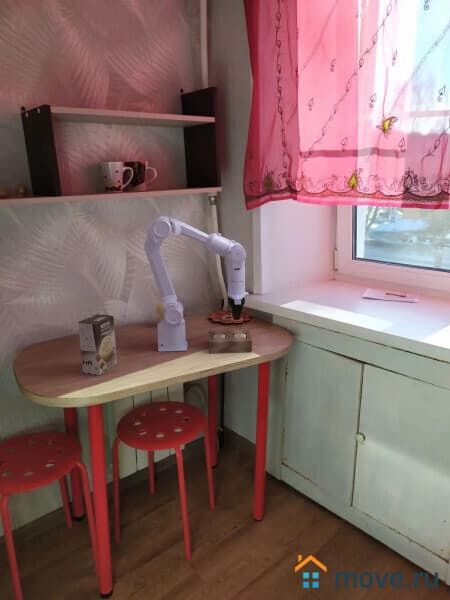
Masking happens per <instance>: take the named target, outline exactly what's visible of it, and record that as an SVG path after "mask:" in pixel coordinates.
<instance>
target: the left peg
mask: <svg viewBox="0 0 450 600" xmlns="http://www.w3.org/2000/svg"><path fill="white" fill-rule="evenodd" d="M217 338H225V335H224V334H215V335H214V336H213V339H217Z"/></svg>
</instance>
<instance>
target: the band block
mask: <svg viewBox="0 0 450 600" xmlns="http://www.w3.org/2000/svg"><path fill="white" fill-rule="evenodd" d="M237 333H243V334H245V335H246V338H234V334H237ZM215 334H224V335H225V338H217V339H213V336H214V335H215ZM208 345H209V346H208V350H209V354H211V355H213V354H241V353H245V354H247V353H252V352H253V340H252V336H251V333H250V329H231V330H229V329H228V330H224V329H223V330H208Z"/></svg>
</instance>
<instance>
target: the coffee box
mask: <svg viewBox="0 0 450 600" xmlns="http://www.w3.org/2000/svg"><path fill="white" fill-rule="evenodd" d="M114 320H115V318H114V315H111V314H110V315H109V314H98V313H96V314H94V315H92V316H90V317H89V316H88V317H86V318H85V319H82V320H79V321H78V322H77V323H78V325H77V326H78V332H79V345H80V346H79V347H80V354H81V355H80V357H81V367H82V368H81V369H82V373H83V372H84V374H88V373H90V374H89V375H94V374H96V375H95V376H101V375H103V374H104V373H106V372H107V371H109V370H110V368H111V369H112V368H113V366H114V367H116V366H117V365H118V359H117V349H116V348H117V347H116V332H115V321H114ZM105 371H106V372H105ZM102 373H103V374H102Z"/></svg>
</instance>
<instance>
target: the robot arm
mask: <svg viewBox="0 0 450 600" xmlns="http://www.w3.org/2000/svg"><path fill="white" fill-rule="evenodd" d="M171 234H172V237H175V236H181V235H182V236H184V237H187V238H190V239H191V240H195V241H196V242H199V243H202V244H204V245H205V249H206V251H207V250H208V251H209V252H212V253H214V254H216V255H219V256H222V257H224V258H228V266H227V293H226V294H227V295H226V296H228V298H227V301H228V304H229V306H230V309H231V314H232V318H233V321H239V320H241V317H242V312H243V308H244V305H245V304H246V300H245V299H246V297H245V296H249V292H248V291H246V266H245V264H246V258H247V256H248V255H247V252H246V249H245V248H244V246H243V245H242V244H241V243H239V242H237V241H235V240H234V239H231V240H230V239H228V238H227V237H224V236H223V235H222V233H220V232H217V233H215V232H213V233H209V234H208V233H205V232H203V231H202V230H199V229H197V228H196V227H194V226H191V225H189V224H187V223H185V222H183V221H180V220H178V219H176V218H173V217H172V218H170V217H168V216H167V215H160V216H158V217H156V218H155V219H154V220H153V222H152V224H151V225H150V226H149V228H148V230H147V234H146V237H145V241H144V244H143V248H144V252H145V255H146V258H147V261H148V263H149V266H150V269H151V272H152V275H153V278H154V280H155V284H156V286H157V289H158V291H159V294H160V295H159V296H160V298H161V301H162V303H163V308H164V319H165V320H164V322H162V323H161V322H158V323H157V346H158V347H157V348H158V351H157V352H160V353H161V352H186V351H187V350H188V341H187V340H186V320H185V319H184V305H183V303H182V301H180V300H179V298H178V296H177V294H176V291H175V289H174V286H173V283H172V279H171V277H170V275H169V271H168V267H167V265H166V263H165V259H164V256H163V254H162V251H161V247H162V245H163V242H164V241H165V240H166V239H167V238H169V236H170V235H171Z"/></svg>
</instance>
